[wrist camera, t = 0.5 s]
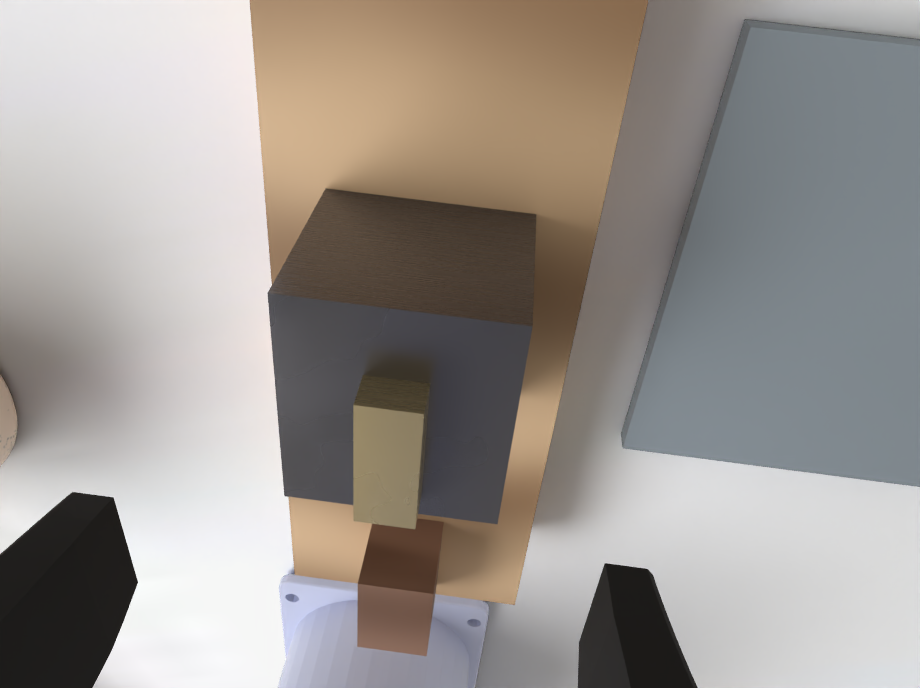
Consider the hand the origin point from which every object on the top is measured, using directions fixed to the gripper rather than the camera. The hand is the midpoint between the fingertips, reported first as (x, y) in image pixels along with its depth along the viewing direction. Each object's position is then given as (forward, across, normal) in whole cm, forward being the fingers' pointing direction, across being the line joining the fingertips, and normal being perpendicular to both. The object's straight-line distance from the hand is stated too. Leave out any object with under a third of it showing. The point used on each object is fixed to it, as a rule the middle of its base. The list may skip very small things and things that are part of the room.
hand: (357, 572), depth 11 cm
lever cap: (+7, 0, 0) cm, 7 cm away
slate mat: (+10, -11, 0) cm, 15 cm away
